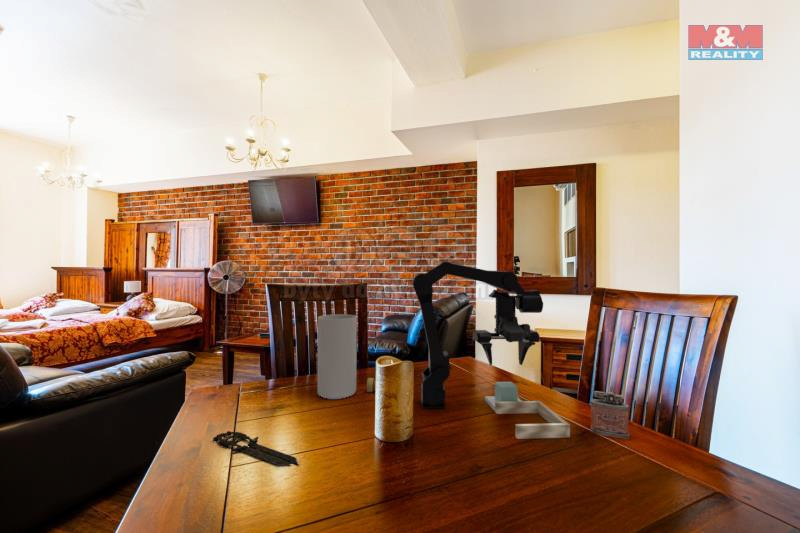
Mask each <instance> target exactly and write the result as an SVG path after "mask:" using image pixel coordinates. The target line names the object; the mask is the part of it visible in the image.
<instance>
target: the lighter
mask: <svg viewBox="0 0 800 533" xmlns="http://www.w3.org/2000/svg"><path fill="white" fill-rule="evenodd" d="M593 397H595V398H591V399H590V405H591V406H590V412H591V417H590V418H591V425H590V431H591V432H592V433H595V434H598V435H601V436H608V437H610V438H611V437H613V438H619V439H629V438H630V432H629V410H630V406H629V404H627V403H625V402H624V403H623V401H624V396H623V395H622V394H616V393H614V392H612V391H608V392H605V391H598V390H594V391H593ZM597 398H599V399H597Z"/></svg>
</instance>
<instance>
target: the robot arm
mask: <svg viewBox="0 0 800 533" xmlns="http://www.w3.org/2000/svg"><path fill="white" fill-rule="evenodd" d="M447 275H449V276H454V277H457V278H463V279H467V280H468V279H469V280H473V281H477V282H481V283H484V284H486V285H488V286H490V287H493V288H496V289H493V291H492V292H490V293H489V294H488V298H492V299H495V314H494V319H495V328H494V332H490V331H488V330H487V329H474V330H473V332H472V340H473V341H475V342H477V343H478V344H479V345H480V346H481V347H482V348H483V351H484V354H485V356H486V358H487V361H488V364H489V366H493V355H492V354H493V353H492V352H493V351H492V348H493V347H492V346H493V343H492V342H491V341H492V340H505V341H506V342H508V343H516V342H517V343H518V346H517V347H518V362H519V365H520V366H522V365H523V363H524V361H525V358H526V355H527V353H528V350H529V349H530V348H531V347H532V346H534V345H535V346H536V343H539V342H540V341H541V336H540V333H539V332H537V331H535V330H532V329H531V325H530V324H529V323H522V324H519V322H518V320H519V319H518V317H517V315H516V310H518V311H519V313H521V314H526V313H527V314H528V313H531V314H537V313H538V314H539V313H542V312H543V309H544V302H543V299H542V296H541V292H540V290H539V289H538V290H536V289H534V290H524V288H523V287H522V286H521V284H520V283H519V279H518V276H517V275H516V273H515V272H513V271H509V270H486V269H482V268H476V267H473V266H468V265H467V266H466V265H462V264H459V263H453V262H451V261H446V260H445V261H442V262H440V263H439V264H438V265H436V266H435V267H433V268H431V269H430V270H428V271H427V272H426V273H418V274H416V275H415V276H414V277H413V278H412V282H411V283H412V288H413V290H414V293H415V295H416V298H417V300H418V303H419V306H420V311H421V316H422V321H423V326H424V327H423V328H424V330H425V337H426V342H427V346H428V366H427V367H426V368H425V369H424V370H423V371H422V372H421V375H422V376H421V377H422V381H421V386H420V388H421V389H420V391H421V398H420V403H421V407H422V409H445V408H446V405H445V404H446V389H445V387H444V382H445V381H446V380H448V378H449V377H450V376H451V371H450V370H452V366H451V364H450V355H449V353H448V351H447V350H444V351H443V349H442V346H441V341H440V335H439V330H438V326H437V321H436V316H435V311H434V305H433V285H434V284H436V283H437V282H439V281H440V280H441V279H442V278H444V277H445V276H447ZM497 289H498V290H503V291H498V290H497ZM506 291H507V292H506ZM510 294H515V295H510Z"/></svg>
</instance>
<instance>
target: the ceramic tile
mask: <svg viewBox="0 0 800 533" xmlns="http://www.w3.org/2000/svg"><path fill="white" fill-rule="evenodd" d="M484 398H485V399H484V401H485V402H486V403H487V405H489V407H490V408H491V409H492V410H493V411H494V412H495V402H498V401H497V400H496V399H495V395H492V396H491V395H488V396H487V395H486V396H484ZM518 401H523V400H522V399H521V398H520V397H519V396H518Z"/></svg>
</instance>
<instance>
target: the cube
mask: <svg viewBox="0 0 800 533" xmlns="http://www.w3.org/2000/svg"><path fill="white" fill-rule="evenodd" d="M518 392H519V390H518V386H517V385H516V384H514V383H513V382H512V381H494V396H495V399H496V400H497V401H498V402H507V401H518V397H519V394H518Z"/></svg>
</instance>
